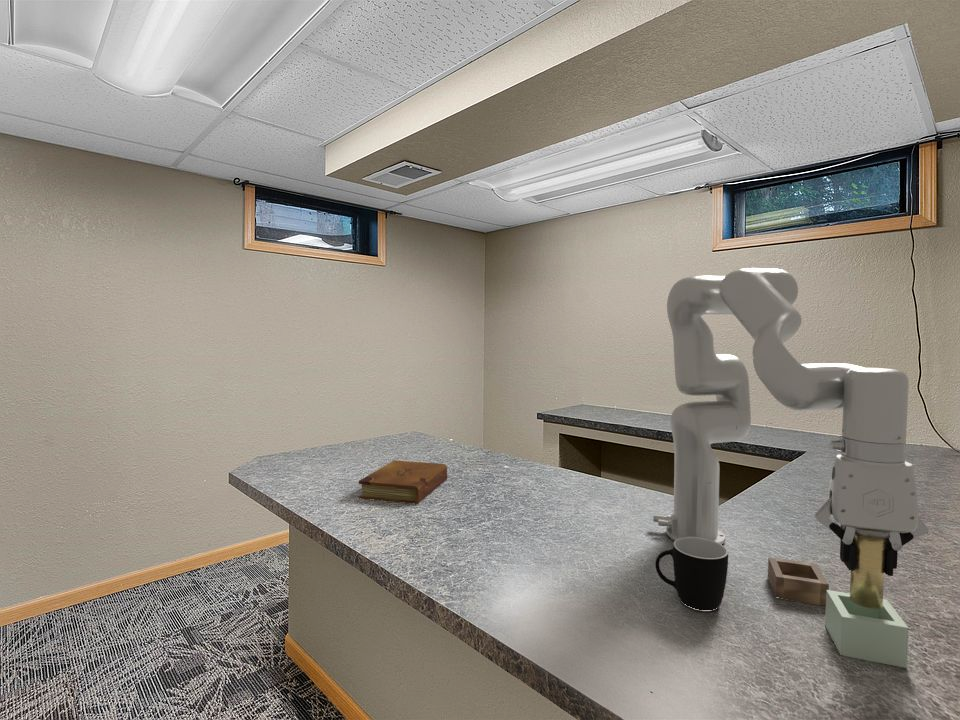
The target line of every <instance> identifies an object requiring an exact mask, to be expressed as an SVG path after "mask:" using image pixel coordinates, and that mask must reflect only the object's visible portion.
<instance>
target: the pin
mask: <svg viewBox="0 0 960 720" xmlns="http://www.w3.org/2000/svg"><path fill="white" fill-rule="evenodd" d="M888 537H890V531H881V530H872V529H863V528H855V534H854V537H853V544H855V546H856V567H855V570H854V571H851V570H850V578H849V579H850V582H849V593H850V599H851V601H853V602H854V603H856V604H858V605H860V606H863V607H866V608H871V609H880V608H882V607H883V599H884V584H885V573H884V568H885V546H886V538H888Z"/></svg>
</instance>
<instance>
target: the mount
mask: <svg viewBox="0 0 960 720" xmlns="http://www.w3.org/2000/svg"><path fill="white" fill-rule="evenodd" d="M768 578H769V579H768ZM767 579H768V581H769V580H770V582H769V584H770V583H771V584H770V586H772V587H771V589H773V590H772V592H773V594H775V595H774V598H775V597H779V598H783V599H782V600H785V599H788V600H787V601H791V600H793V601H792V602H797V601H798V603H804V604H811V605H816V606H821V607H826V590H830V589H829V588H830V584H829V582H828V581H827V579H826V577H825V576H824V574H823V572H822V571H821V569H820V567H819V565H818V563H812V562H811V563H810V562H804V561H798V560H792V559H791V560H790V559H784V558H776V557H771V556H768V561H767ZM779 598H778V599H779Z"/></svg>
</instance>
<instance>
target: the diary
mask: <svg viewBox="0 0 960 720" xmlns="http://www.w3.org/2000/svg"><path fill="white" fill-rule="evenodd" d="M447 479H448V466H447V465H446V463H436V462H421V461H409V460H396V459H395V460H392V461H391V462H389V463H387V464H386V465H384V466H382V467H380V468H378V469H377V470H375V471H374V472H372V473H370V474H369V475H367V476H365V477H363V478H362V479H360V480H358V485H361V495H359V496H358V499H360V498H363V499H362V500H370V499H374V500H373V501H379V500H383V501H382V502H389V501H394V502H393V503H399V502H405V503H404V504H409V503H415V504H414V505H418V504H420V503H421V502H422V501H423V500H424V499H425V498H427V497H428V496H429V495H430V494H432V492H433V490H434V491H435V490H436V489H437V488H438V487H440V486H441V485H443V483H444V482H445V481H446V480H447ZM440 484H441V485H440ZM426 496H427V497H426ZM419 502H420V503H419Z"/></svg>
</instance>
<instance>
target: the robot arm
mask: <svg viewBox="0 0 960 720" xmlns="http://www.w3.org/2000/svg"><path fill="white" fill-rule="evenodd" d="M798 294H799V286H798V283H797V281H796V279H795V277H794V276H793V275H792V274H791V273H789V272H788V271H786V270H784V269H782V268H781V269H779V268H759V267H751V268H749V267H746V268H740V269H735V270H732V271H730V272H728V274H726V275H693V276H687V277H684V278H681V279H679V280H677V281H676V282H675V283H674V284H673V286H672V287H671V288H670V291H669V294H668V295H667V296H668V297H667V299H666V301H667V302H666V311H667V318H668V321H669V325H670V329H671V334H672V339H673V359H674V362H673V364H674V377H675V384H676V388H677V390H678V391H679V393H681V394H683V395H686V396H690V397H693V396H694V397H702V396H705V397H706V396H715V397H716V399H715V400H713V401H709V400H707V401H706V400H705V401H691V402H685V403H682V404H680V405H678V406H677V407H675V408H674V409H673V411H672V413H671V415H670V428H671V435H672V439H673V449H674V450H673V451H674V452H673V453H674V466H673V467H674V469H673V471H674V472H673V473H674V474H673V475H674V477H673V481H674V482H673V511H671V514H670V513H669V514H667V515H664V514H663V515H662V514H661V513H660V514H658V513H653V515H652V517H653V519H652V520H653V523H658V525H657V526H660V527H666V529H665V530H666V531H665V532H666V535H668V536H669V537H670V538H671V540H672V539H673V540H677V539H679V538H682V537H700V538H705V539H709V540H713V541H715V542H718V543H720V544H721V545H722V544H723V543H724V544H725V543H726V535H725V534H724V533H723V531H721V530H719V507H720V506H719V503H720V502H719V499H720V461H719V459H718V457H717V454H716V453H715V451H714V450H713V448H712V446H711V445H712V444H717V443H720V444H721V443H731V442H732V443H733V442H738V441H742V440H744V439H745V438H746V437H747V436H748V435H749V432H750V430H751V422H752V417H751V397H750V380H749V373H748V370H747V368H746V366H745V364H744V362H743V361H742V360H741V359H740V358H739V357H737V356H736V355H733V354H729V353H715V347H714V335H713V331H712V330H711V328H710V326H709V324H708V323H707V322H706V320H704V318H703V317H702V316H703V315H733V316H734V317H735V318H736V319H737V320H738V322H739V323H740V324H741V325H742V327H744V329H745V330H746V331H747V333H748V334H749V335H750V336H751V338H752V339H753V340H754V342H753V346H752V361H753V367H754V371H755V373H756V376H757V377H758V379H759V380H760V381H761V383H762V384H763V385H764V386H765V388H766V390H768V391H769V393H770V394H771V396H772V397H773V398H774V399H775V400H777V402H779V404H781V405H782V406H784V407H786V408H787V409H790V410H793V411H798V412H803V411H820V410H828V411H829V410H842V426H841V428H842V429H841V435H840V438H839V439H837V440H831V441H830V449H831V450H837V451H838V452H840V454H837V455H836V457H835V459H834V462H833V466H832V470H831V474H830V480H829V487H828V494H827V495H828V496H827V501H826V502H824V504H823V505H821V507H820V508H819V509H818V510H817V511H816V512H815V514H814V518H815V519H816V521H817V522H819V523H820V524H822V525H823V526H824V527H826V528H828V529H829V530H830V531H831V532H833V534H835V535H836V536H837V537H838V538H839V539H840V541H839V543H840V544H839V547H840V548H839V558H840V561H841V562H843V564H844V565H845V566H846V568H847V570H849V571H850V572H851V571H854V570H855V567H856V546H855V544H853V537H854V534H855V528H863V529H872V530H881V531H890V537H888V538H886V546H885V568H884V575H886V576H888V577H893V576H894V570H896V569H897V568H898V556H899V555H898V552H899V551H901V550H902V548H903V546H905V545H907V544H908V543H910V542H911V541H913V539H914V538H918V537H920V536H921V537H922V536H923V535H926V534H928V533H929V528H928V527H927V525H926V524H925V522H924V521H923V520H922V518H921V517H920V516H919V506H918V505H919V503H918V493H917V491H918V490H917V489H918V488H917V482H916V476H915V471H914V466H913V464H912V463H911V462H908V461H907V460H906V444H907V443H906V442H907V428H908V425H907V424H908V422H907V421H908V409H909V408H908V407H909V406H908V405H909V385H910V384H909V378H908V375H907V373H905V371H904V372H903V371H901V370H899V369H895V368H894V369H893V368H885V367H883V368H881V367H865V366H859V365H856V364H851V363H846V362H845V363H840V362H836V363H835V362H834V363H833V362H832V363H827V362H823V363H822V362H820V363H800V362H799V361H798V360H797V359H796V358H795V357H794V356H793V355H792V354H791V352H790V351H789V350H788V349H787V347H786V346H785V344H784V343H786V342H787V341H789V340H790V339H791V338H792V337H793V336H794V335H795V334H796V333H797V332H798V331H799V329H800V327H801V325H802V322H803V321H802V316H801V314H800V312H799V311H798V310H797V309H796V308H795V307H794V306H793V304H794V303H795V302H796V300H797V298H798V296H799V295H798ZM831 516H832V517H833V519H834V520H835V521H834V520H833V519H831V518H830V517H831ZM668 536H667V537H668ZM669 537H668V538H669ZM670 538H669V539H670ZM673 540H672V541H673ZM724 544H723V545H724Z"/></svg>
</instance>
